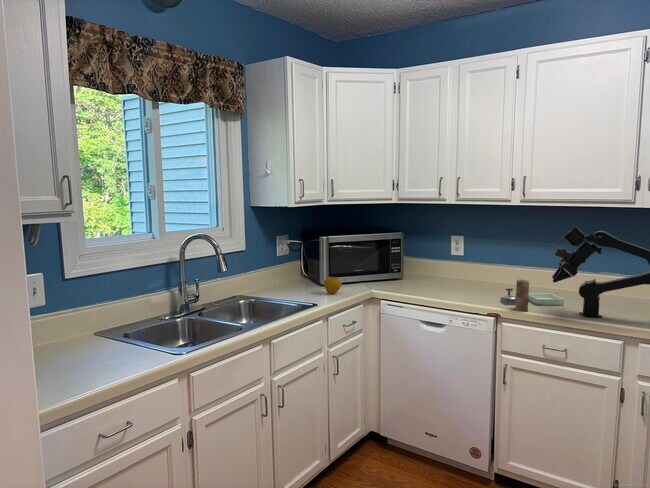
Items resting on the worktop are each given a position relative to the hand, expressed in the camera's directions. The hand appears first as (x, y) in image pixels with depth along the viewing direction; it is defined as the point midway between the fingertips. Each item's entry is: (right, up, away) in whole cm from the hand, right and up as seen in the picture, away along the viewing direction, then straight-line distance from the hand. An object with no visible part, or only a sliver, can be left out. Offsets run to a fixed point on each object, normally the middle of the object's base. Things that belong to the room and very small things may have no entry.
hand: (553, 279), depth 205 cm
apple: (-94, -10, +38) cm, 102 cm away
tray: (+5, -12, +18) cm, 22 cm away
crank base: (-11, -12, +17) cm, 24 cm away
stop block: (-11, -14, +5) cm, 19 cm away
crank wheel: (-11, -10, +17) cm, 23 cm away
